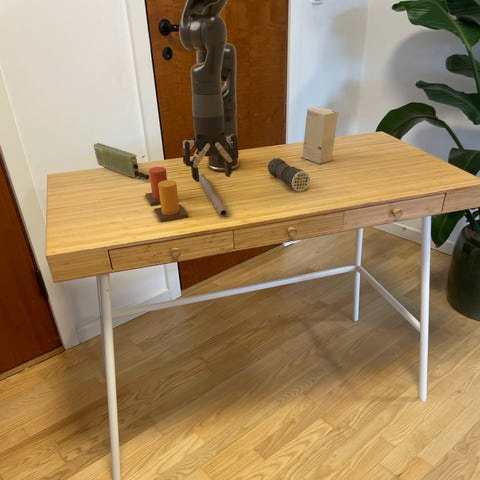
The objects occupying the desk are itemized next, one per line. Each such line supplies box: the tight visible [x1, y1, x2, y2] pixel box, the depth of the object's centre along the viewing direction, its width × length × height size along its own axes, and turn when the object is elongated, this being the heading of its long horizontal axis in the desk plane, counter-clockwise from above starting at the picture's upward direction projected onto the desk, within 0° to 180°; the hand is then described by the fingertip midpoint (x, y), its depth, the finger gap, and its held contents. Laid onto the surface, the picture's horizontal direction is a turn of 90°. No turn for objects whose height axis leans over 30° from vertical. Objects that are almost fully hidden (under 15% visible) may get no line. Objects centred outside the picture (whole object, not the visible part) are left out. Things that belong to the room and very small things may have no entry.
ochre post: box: [153, 179, 189, 223], centre depth 114 cm, size 7×7×8 cm
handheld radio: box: [93, 142, 150, 180], centre depth 140 cm, size 7×3×25 cm
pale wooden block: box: [301, 106, 339, 165], centre depth 143 cm, size 8×6×15 cm
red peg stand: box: [145, 166, 168, 206], centre depth 122 cm, size 7×7×8 cm
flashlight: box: [267, 157, 310, 192], centre depth 130 cm, size 15×5×5 cm, turn 25°
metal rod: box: [199, 173, 229, 218], centre depth 124 cm, size 2×27×2 cm, turn 15°
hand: (212, 178), depth 121 cm, fingers open, 8 cm apart
